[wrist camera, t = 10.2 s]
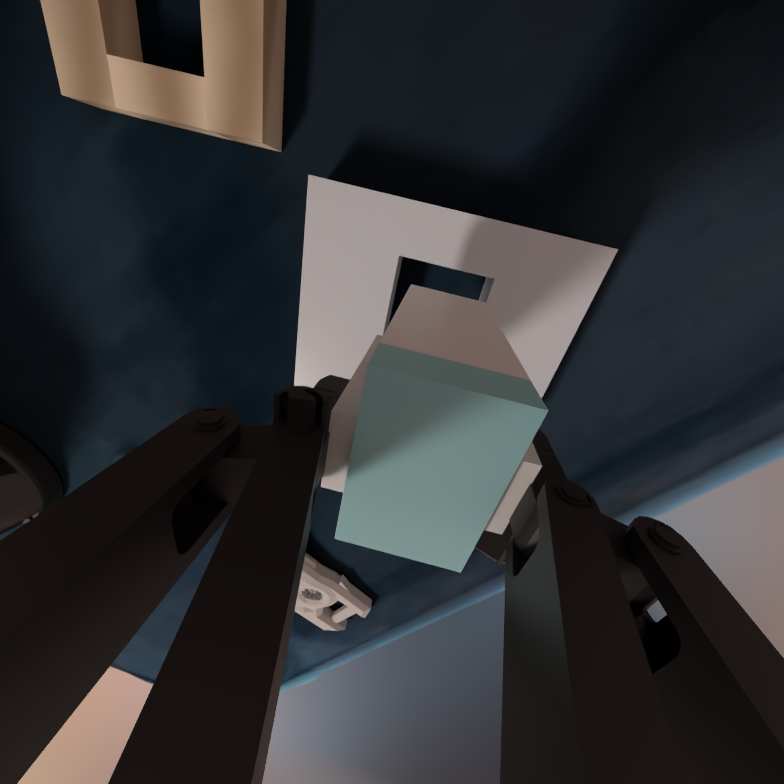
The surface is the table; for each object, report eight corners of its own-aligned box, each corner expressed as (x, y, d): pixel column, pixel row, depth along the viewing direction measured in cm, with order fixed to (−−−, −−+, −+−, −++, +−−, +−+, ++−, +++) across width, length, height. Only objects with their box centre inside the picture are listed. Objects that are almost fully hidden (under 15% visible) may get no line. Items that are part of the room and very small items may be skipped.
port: (308, 371, 27) (292, 388, 24) (325, 181, 21) (305, 173, 18) (510, 422, 27) (519, 446, 24) (594, 246, 20) (621, 249, 17)
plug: (387, 383, 19) (334, 538, 10) (410, 284, 16) (367, 364, 7) (451, 399, 19) (460, 572, 10) (485, 302, 16) (548, 410, 7)
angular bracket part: (226, 577, 38) (281, 550, 34) (241, 551, 41) (292, 523, 37) (330, 643, 44) (385, 626, 40) (336, 616, 47) (387, 598, 43)
